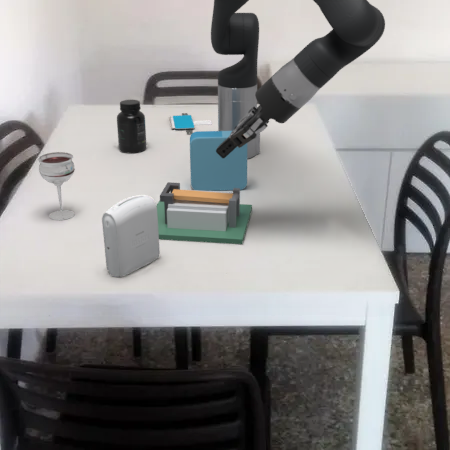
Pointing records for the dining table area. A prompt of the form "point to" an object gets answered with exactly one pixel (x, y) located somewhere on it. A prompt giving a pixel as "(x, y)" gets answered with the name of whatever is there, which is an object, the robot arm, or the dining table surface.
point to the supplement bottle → (131, 127)
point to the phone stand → (186, 123)
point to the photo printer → (130, 234)
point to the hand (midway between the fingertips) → (219, 153)
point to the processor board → (204, 234)
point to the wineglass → (57, 176)
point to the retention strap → (204, 196)
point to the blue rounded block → (216, 163)
